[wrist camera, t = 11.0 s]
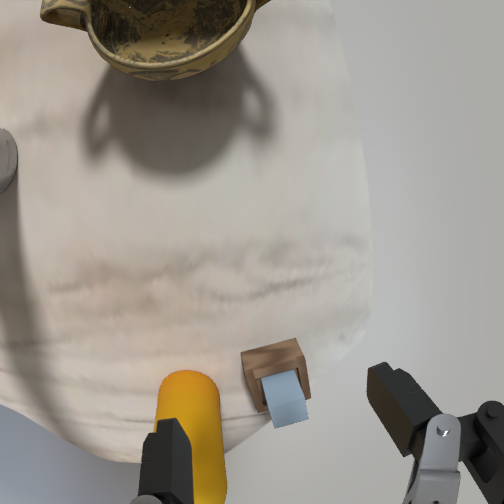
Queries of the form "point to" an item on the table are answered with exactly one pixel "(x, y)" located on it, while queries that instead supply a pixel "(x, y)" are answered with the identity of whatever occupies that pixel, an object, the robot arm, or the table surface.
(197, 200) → the table surface
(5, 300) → the table surface
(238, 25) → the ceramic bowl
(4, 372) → the table surface
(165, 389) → the beer bottle
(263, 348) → the walnut base
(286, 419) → the lid block
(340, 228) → the table surface
